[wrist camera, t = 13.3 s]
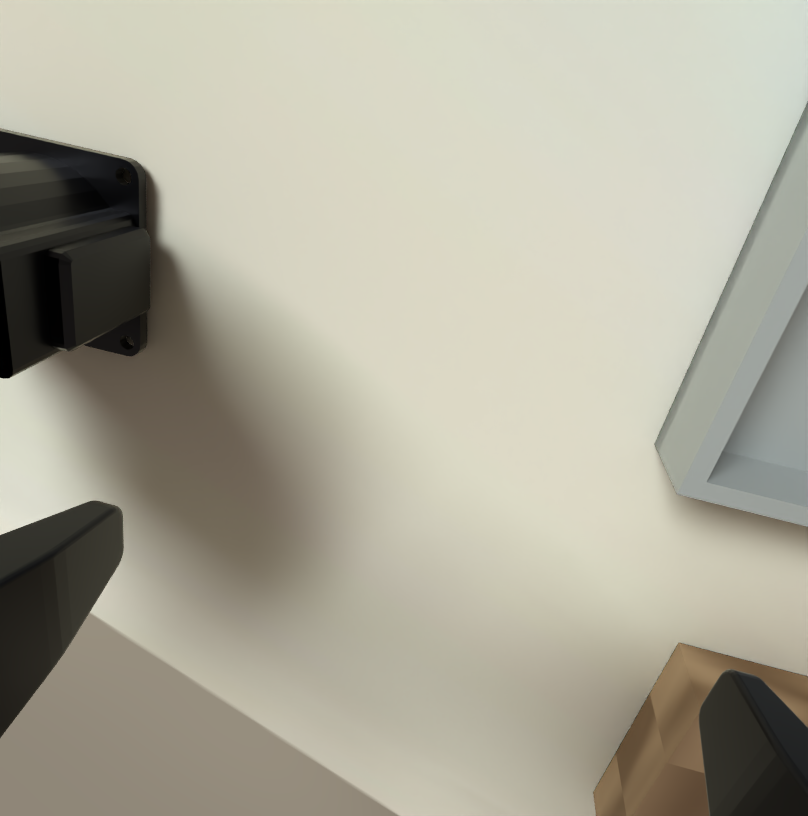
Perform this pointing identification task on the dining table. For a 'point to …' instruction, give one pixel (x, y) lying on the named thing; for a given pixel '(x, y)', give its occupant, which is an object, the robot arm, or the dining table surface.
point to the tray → (753, 368)
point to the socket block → (679, 737)
